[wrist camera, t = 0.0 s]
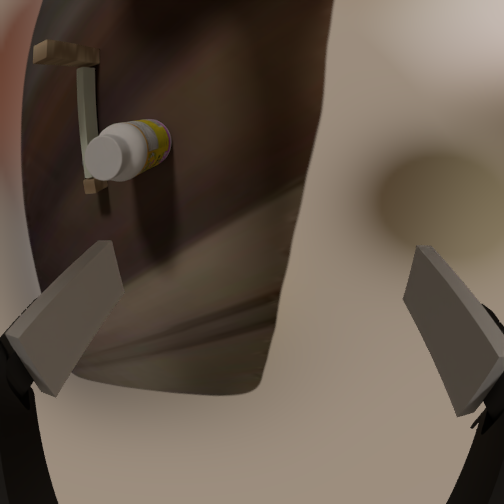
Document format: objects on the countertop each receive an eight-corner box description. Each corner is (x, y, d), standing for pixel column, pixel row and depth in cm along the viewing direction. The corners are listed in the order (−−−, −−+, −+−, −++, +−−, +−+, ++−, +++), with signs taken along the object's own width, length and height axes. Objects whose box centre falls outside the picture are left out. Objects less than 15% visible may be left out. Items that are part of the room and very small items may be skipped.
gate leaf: (83, 71, 32) (71, 70, 29) (94, 68, 31) (83, 66, 29) (91, 173, 39) (80, 178, 36) (102, 172, 39) (91, 177, 36)
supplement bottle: (139, 172, 39) (90, 199, 27) (123, 130, 36) (68, 143, 25) (180, 155, 37) (140, 176, 26) (163, 111, 35) (116, 114, 23)
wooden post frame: (86, 53, 30) (33, 46, 20) (99, 49, 30) (47, 39, 20) (96, 187, 40) (48, 214, 29) (109, 186, 40) (61, 213, 29)
